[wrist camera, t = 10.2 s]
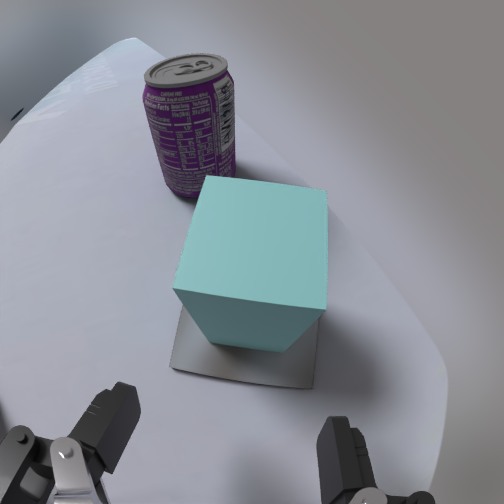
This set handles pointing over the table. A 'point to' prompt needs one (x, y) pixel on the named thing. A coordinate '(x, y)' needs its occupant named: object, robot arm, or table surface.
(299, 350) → the post
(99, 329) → the table surface
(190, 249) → the tall teal block
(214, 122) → the beverage can
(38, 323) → the table surface
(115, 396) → the robot arm
